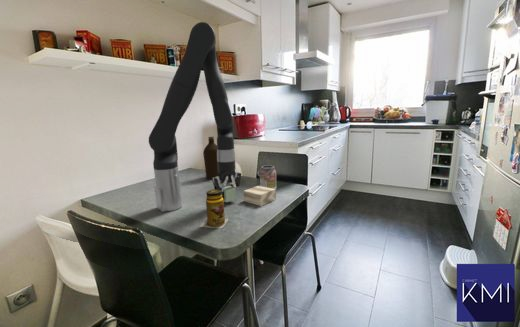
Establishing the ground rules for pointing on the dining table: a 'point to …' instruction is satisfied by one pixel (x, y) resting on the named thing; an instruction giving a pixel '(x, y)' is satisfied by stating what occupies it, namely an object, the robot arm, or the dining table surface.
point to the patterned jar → (267, 176)
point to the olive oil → (211, 159)
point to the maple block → (259, 195)
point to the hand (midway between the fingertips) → (228, 197)
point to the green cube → (229, 194)
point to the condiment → (214, 210)
